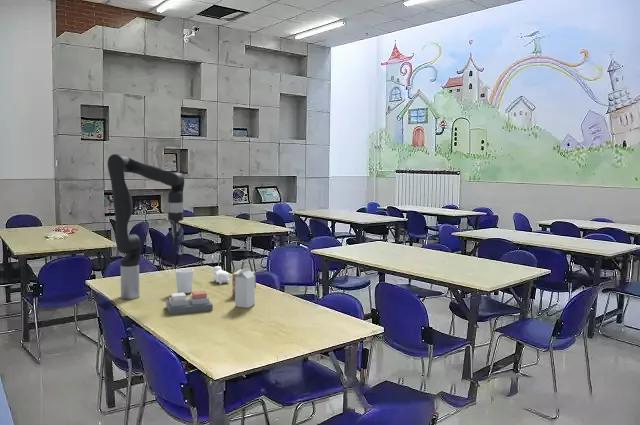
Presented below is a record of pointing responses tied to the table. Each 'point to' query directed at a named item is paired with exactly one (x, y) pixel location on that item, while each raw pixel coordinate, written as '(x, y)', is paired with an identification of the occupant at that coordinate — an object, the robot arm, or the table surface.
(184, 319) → the table surface
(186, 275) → the cup
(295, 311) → the table surface
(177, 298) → the ivory key
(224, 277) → the white animal figurine
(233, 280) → the gray gift bag
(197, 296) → the red key
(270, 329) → the table surface
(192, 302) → the key base
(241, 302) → the milk carton
